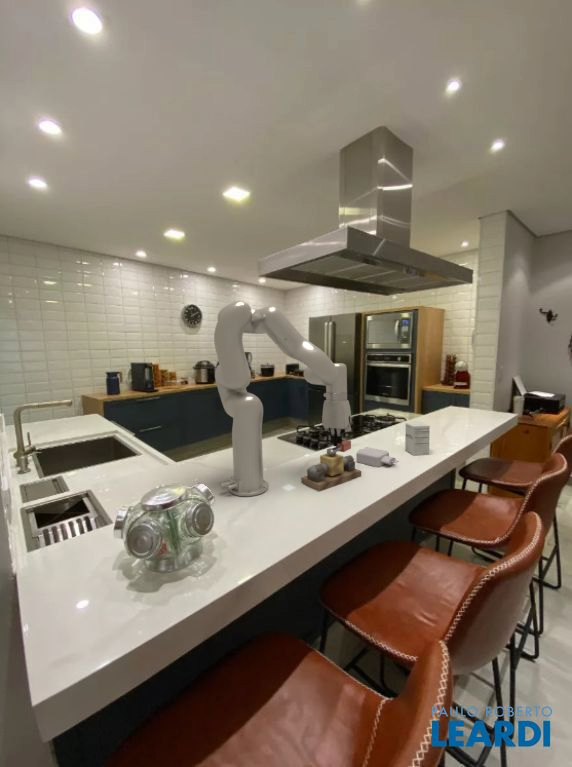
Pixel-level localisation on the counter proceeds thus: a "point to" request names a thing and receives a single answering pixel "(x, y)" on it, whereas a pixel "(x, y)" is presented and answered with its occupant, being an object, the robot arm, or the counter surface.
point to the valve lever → (340, 447)
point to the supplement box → (417, 438)
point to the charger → (374, 457)
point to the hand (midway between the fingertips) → (337, 445)
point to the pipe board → (331, 480)
